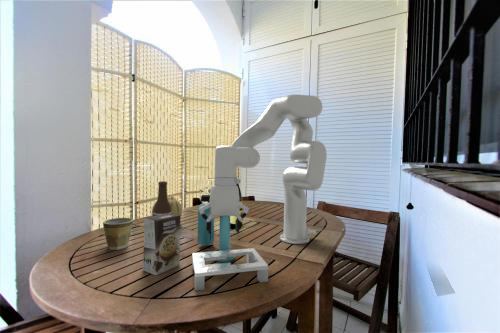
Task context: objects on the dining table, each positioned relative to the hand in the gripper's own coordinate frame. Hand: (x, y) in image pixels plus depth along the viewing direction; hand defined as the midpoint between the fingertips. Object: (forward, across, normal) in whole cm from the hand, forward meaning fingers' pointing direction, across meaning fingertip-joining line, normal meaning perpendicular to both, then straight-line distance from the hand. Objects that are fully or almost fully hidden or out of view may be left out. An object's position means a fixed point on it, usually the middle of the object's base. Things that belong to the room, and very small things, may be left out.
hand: (223, 232), depth 84 cm
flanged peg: (+9, -1, 0) cm, 9 cm away
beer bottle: (+9, +21, -28) cm, 37 cm away
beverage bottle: (+9, +4, -13) cm, 17 cm away
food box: (+10, +19, +3) cm, 22 cm away
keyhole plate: (+9, 0, +12) cm, 15 cm away
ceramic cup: (+10, +37, -21) cm, 44 cm away
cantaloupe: (+9, +20, -47) cm, 52 cm away
